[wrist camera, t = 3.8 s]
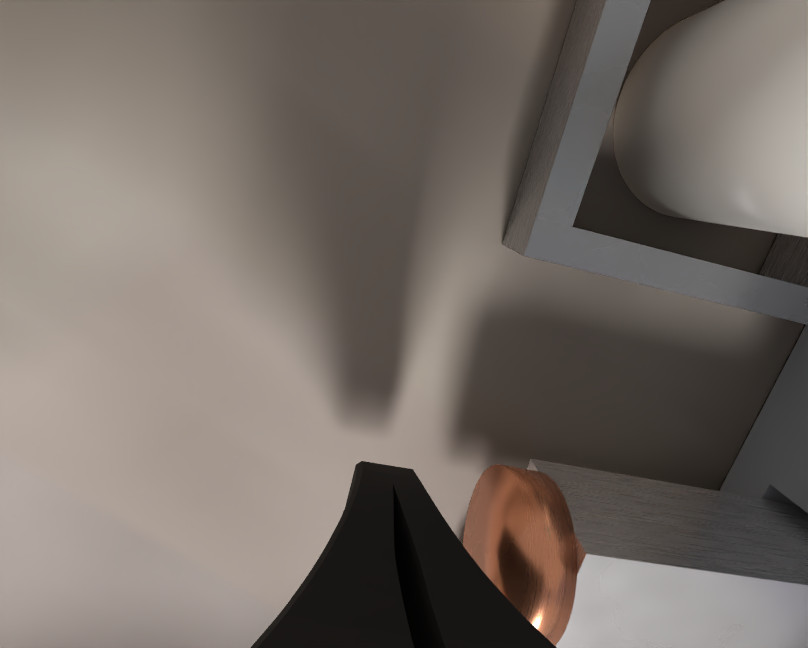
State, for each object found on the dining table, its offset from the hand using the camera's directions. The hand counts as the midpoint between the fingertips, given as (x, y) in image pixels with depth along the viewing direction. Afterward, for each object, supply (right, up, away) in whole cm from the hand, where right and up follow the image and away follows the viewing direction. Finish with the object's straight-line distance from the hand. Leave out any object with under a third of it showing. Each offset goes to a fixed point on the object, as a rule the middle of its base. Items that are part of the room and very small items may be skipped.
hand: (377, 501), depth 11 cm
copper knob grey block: (+7, -1, +2) cm, 7 cm away
